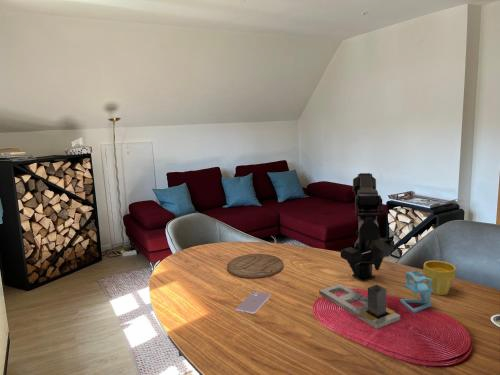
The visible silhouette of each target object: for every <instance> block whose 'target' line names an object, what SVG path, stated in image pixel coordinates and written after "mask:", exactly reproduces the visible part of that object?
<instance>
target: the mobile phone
mask: <svg viewBox="0 0 500 375" xmlns="http://www.w3.org/2000/svg"><path fill="white" fill-rule="evenodd" d="M270 297H271V293H267V292H262V291H261V292H260V291H255V290H254V291H252V292H251V293H250V294H249V295H248V296H247V297H246V298H245V299H244V300H242V302H241V303H240V304H239V305H238V306H237V307H236V308H235V310H236V311H237V312H241V313H247V314H251V315H252V314H256V313H257V312H258V311H259V310H260V309H261V308H262V307H263V305H265V303H266V302H267V301H268V300H269V299H270Z"/></svg>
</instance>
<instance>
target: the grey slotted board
mask: <svg viewBox="0 0 500 375" xmlns="http://www.w3.org/2000/svg"><path fill="white" fill-rule="evenodd" d="M338 292H340V293H343V294H342V295H340V296H338V295H335V293H338ZM318 293H319V295H320V296H322V297H323V298H325V299H327V300H328V299H329V300H328V301H330V302H331V303H333V302H334V303H333V304H335V305H336V306H338V305H339V306H338V307H340V306H341V307H340V308H342V309H343V308H344V309H343V310H345V311H347V312H348V313H350V314H352V315H353V316H355V317H356V316H357V318H358V319H360V320H362V321H363V322H365V323H367V324H368V325H370V326H371V327H373V328H375V329H376V330H378V329H382V328H383V327H386V326H389V325H390V324H393V323H396V322H398V321H400V320H401V314H398V313H396V312H395V310H393V309H390V308H388V306H386V316H384V317H382V318H379V319H377V318H375V317H374V316H372V315H370V314H368V297H367V296H364V295H363V294H361V293H359V292H357V291H355V290H353V289H352V288H350V287H347V286H346V285H344V284H341V283H338V284H334V285H332V286H328V287H326V288H321V289H319V292H318ZM344 293H345V294H344ZM356 300H357V301H356ZM353 302H359V303H360V304H362V303H363V304H362V305H359V306H355V305H353V304H351V303H353ZM364 304H365V305H364ZM388 324H389V325H388Z"/></svg>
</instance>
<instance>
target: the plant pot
mask: <svg viewBox="0 0 500 375" xmlns="http://www.w3.org/2000/svg"><path fill="white" fill-rule="evenodd" d="M422 270H423V272H422V273H423V274H424V275H425V277H427V278H429V279H432V282H431V284H430V287H431V288H432V289H433V292H431V294H434V295H438V296H446V295H448V294H449V291H450V288H451V286H452V281H453V279H455V277H456V272H457V268H456V266H455V265H454V264H451V263H450V262H446V261H442V260H441V261H440V260H427V261H425V262H424V263H423V269H422ZM428 283H429V281H426V285H427V286H428Z"/></svg>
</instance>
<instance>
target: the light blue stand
mask: <svg viewBox="0 0 500 375" xmlns="http://www.w3.org/2000/svg"><path fill="white" fill-rule="evenodd" d="M423 274H424V272H420V271H416V270H410V271H409V272H406V273H405V278H406V282H405V283H403V286H404V287H406V288H407V289H408V290H409V291H411V292H412V293H413V294H415V295H416V294H418V295H419V296H420V298H421V299H413V298H411V299H410V298H409V299H408V298H401V299H400V303H401V304H402V305H403V304H404V305H403V306H404V307H406V308H407V310H409V311H410V310H411V311H410V312H412V313H417V312H421V311H422V310H425V309H427V308H430V307H432V302H431V301H432V300H431V298H432V297H431V294H432V293H431V292H433V289H432V288H431V287H430V284H431V282H432V279H429V278H427V277H426V276H424V275H423ZM416 275H419V276H416ZM410 279H411V280H412V281H413V282H410ZM427 281H429V283H428V286H427V283H425V282H427ZM408 303H409V304H411V303H412V304H422V305H420V306H418V307H415V308H413V307H412V306H410V305H409V304H408Z"/></svg>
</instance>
